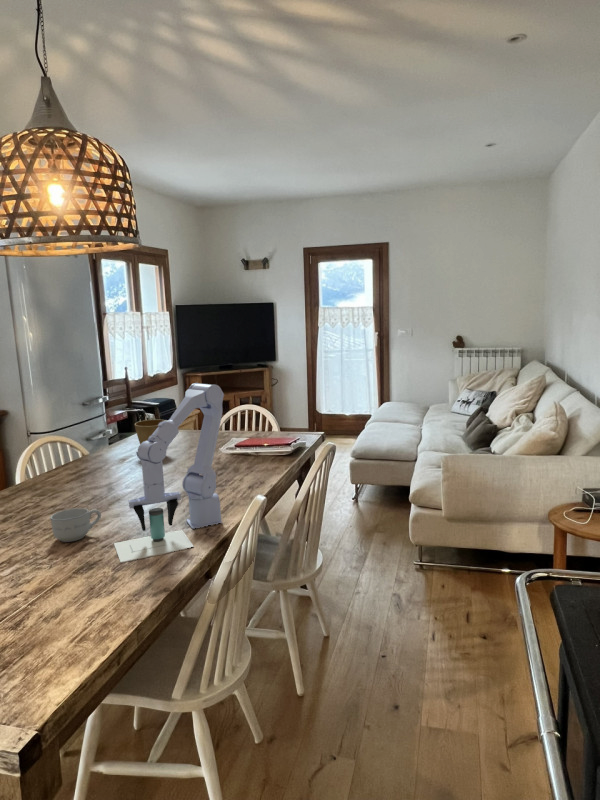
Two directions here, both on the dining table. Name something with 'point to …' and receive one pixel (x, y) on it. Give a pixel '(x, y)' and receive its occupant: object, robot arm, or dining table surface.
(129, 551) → the paper pad
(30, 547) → the dining table surface
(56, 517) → the teacup
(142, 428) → the plant pot
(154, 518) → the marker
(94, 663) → the dining table surface
